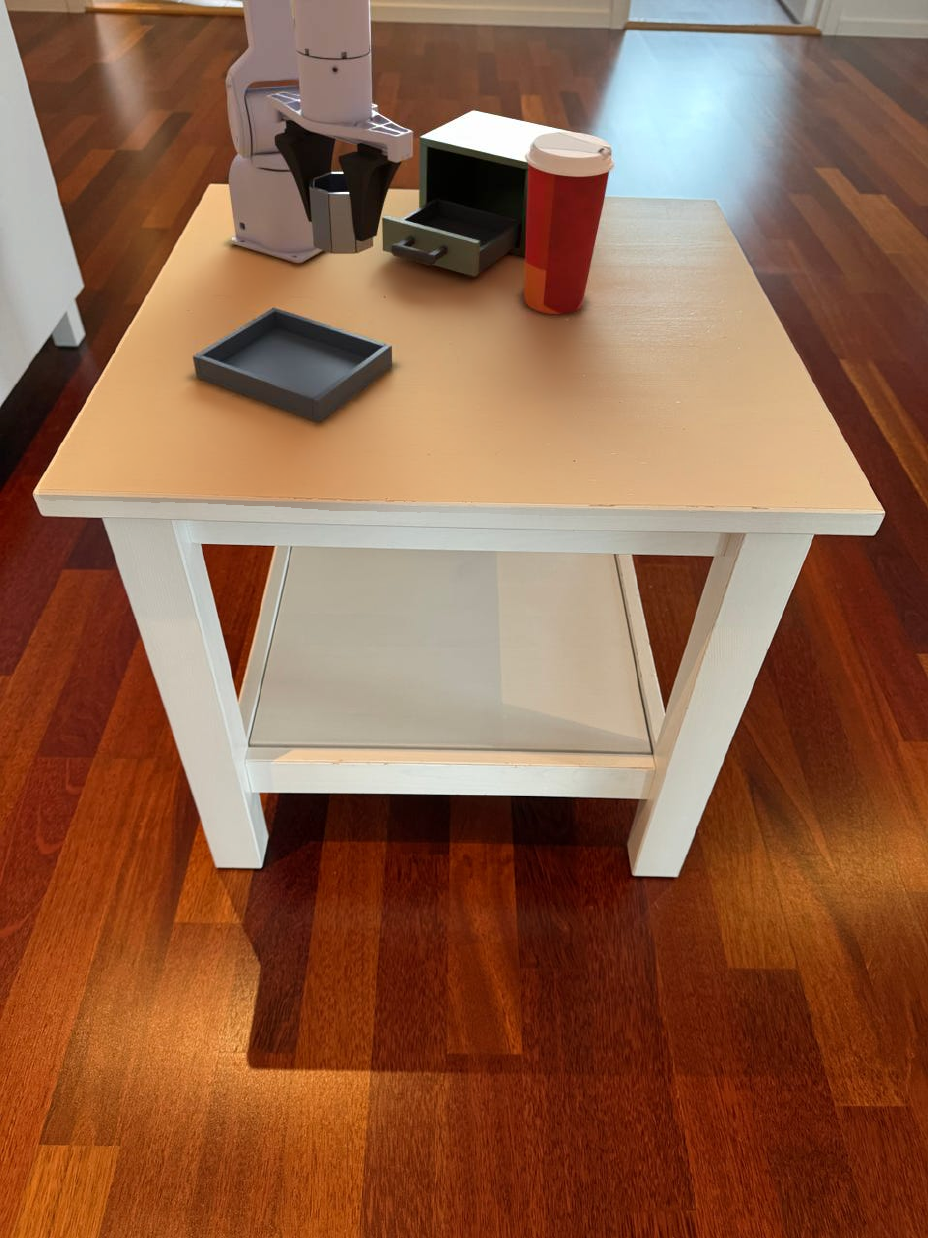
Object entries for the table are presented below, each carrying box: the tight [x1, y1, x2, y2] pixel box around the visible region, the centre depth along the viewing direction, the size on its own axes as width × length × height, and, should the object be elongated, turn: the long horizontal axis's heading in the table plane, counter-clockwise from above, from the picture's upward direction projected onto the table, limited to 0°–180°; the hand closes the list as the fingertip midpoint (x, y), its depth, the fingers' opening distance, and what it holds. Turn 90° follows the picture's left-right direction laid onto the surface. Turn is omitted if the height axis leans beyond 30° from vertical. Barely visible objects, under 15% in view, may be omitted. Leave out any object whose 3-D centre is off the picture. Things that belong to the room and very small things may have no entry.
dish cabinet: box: [418, 110, 571, 258], centre depth 104 cm, size 14×12×10 cm
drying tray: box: [192, 307, 393, 423], centre depth 81 cm, size 13×11×2 cm
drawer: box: [381, 198, 522, 277], centre depth 98 cm, size 11×15×4 cm
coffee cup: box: [523, 131, 615, 315], centre depth 89 cm, size 8×8×15 cm
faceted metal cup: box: [309, 171, 374, 255], centre depth 79 cm, size 5×5×5 cm
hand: (342, 228), depth 80 cm, fingers closed on faceted metal cup, 5 cm apart
